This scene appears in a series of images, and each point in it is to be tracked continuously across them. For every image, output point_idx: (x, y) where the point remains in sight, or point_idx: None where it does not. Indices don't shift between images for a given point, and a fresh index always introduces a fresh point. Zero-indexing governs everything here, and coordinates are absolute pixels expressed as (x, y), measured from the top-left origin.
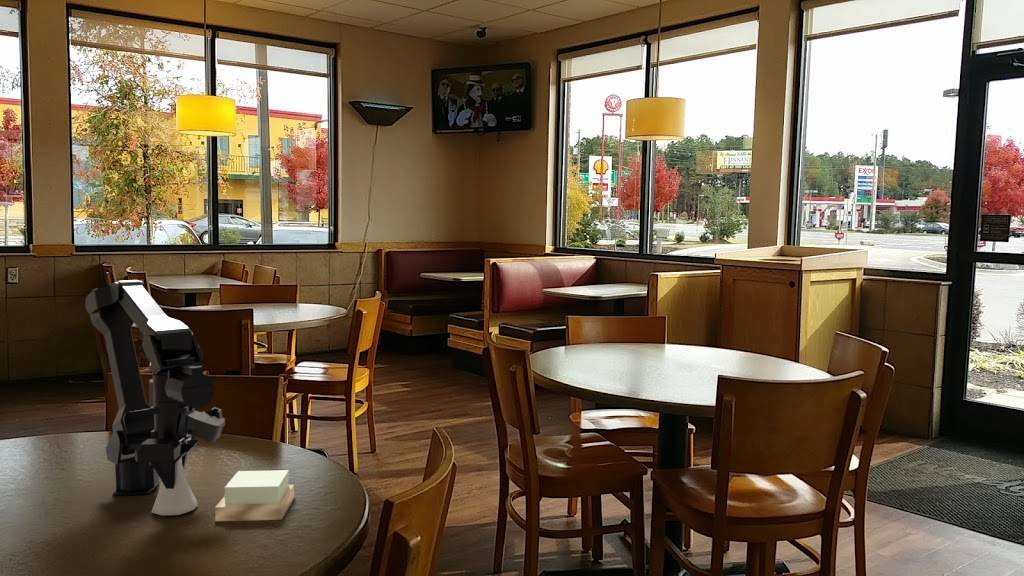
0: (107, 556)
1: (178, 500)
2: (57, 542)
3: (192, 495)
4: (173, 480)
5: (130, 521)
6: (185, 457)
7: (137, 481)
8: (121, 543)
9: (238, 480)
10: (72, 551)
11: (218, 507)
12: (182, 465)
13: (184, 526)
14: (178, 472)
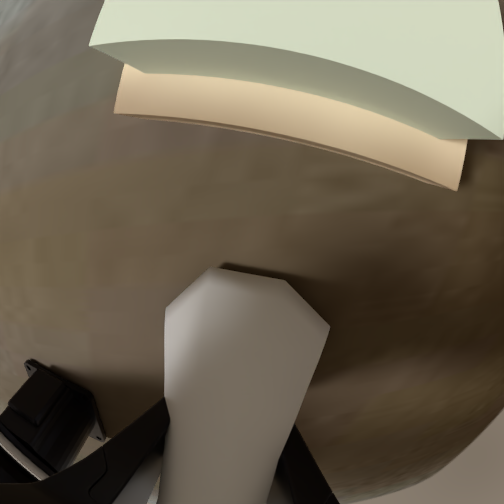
0: (487, 403)
1: (313, 365)
2: (365, 480)
3: (224, 311)
4: (311, 460)
5: (302, 427)
6: (109, 496)
7: (76, 427)
8: (446, 407)
9: (367, 10)
10: (425, 454)
11: (459, 174)
12: (141, 465)
13: (427, 293)
14: (256, 476)
